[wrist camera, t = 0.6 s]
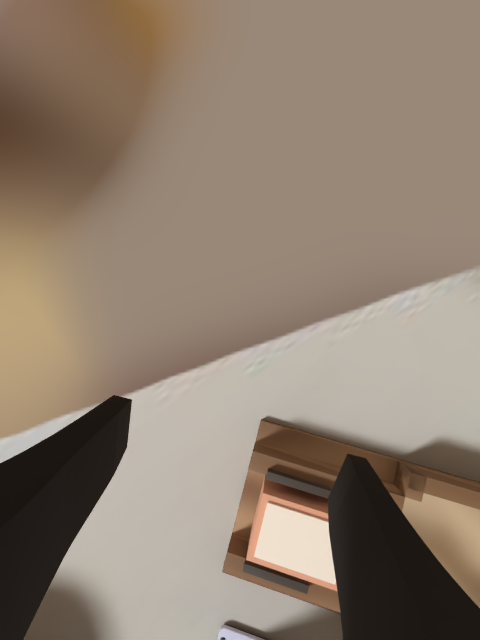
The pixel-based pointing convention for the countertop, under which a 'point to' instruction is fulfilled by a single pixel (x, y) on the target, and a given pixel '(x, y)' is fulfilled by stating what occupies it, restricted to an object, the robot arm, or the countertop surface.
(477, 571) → the wooden tray
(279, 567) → the block
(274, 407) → the countertop surface
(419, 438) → the countertop surface
